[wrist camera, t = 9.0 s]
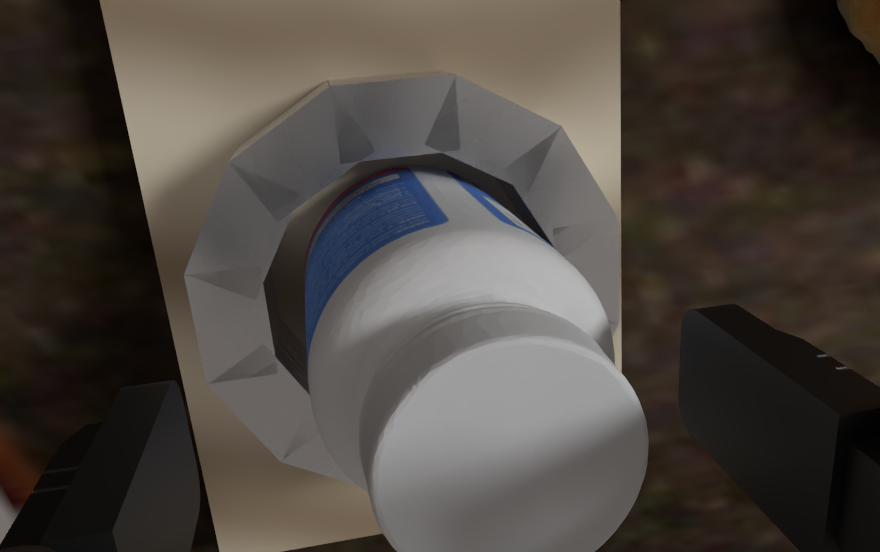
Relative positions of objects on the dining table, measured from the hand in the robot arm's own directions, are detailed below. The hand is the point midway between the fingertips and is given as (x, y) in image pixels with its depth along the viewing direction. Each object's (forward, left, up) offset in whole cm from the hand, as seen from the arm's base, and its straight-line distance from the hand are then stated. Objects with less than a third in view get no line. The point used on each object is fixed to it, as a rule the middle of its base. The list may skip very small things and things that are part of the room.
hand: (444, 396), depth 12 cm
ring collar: (0, 0, -8) cm, 8 cm away
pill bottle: (0, 0, -8) cm, 8 cm away
